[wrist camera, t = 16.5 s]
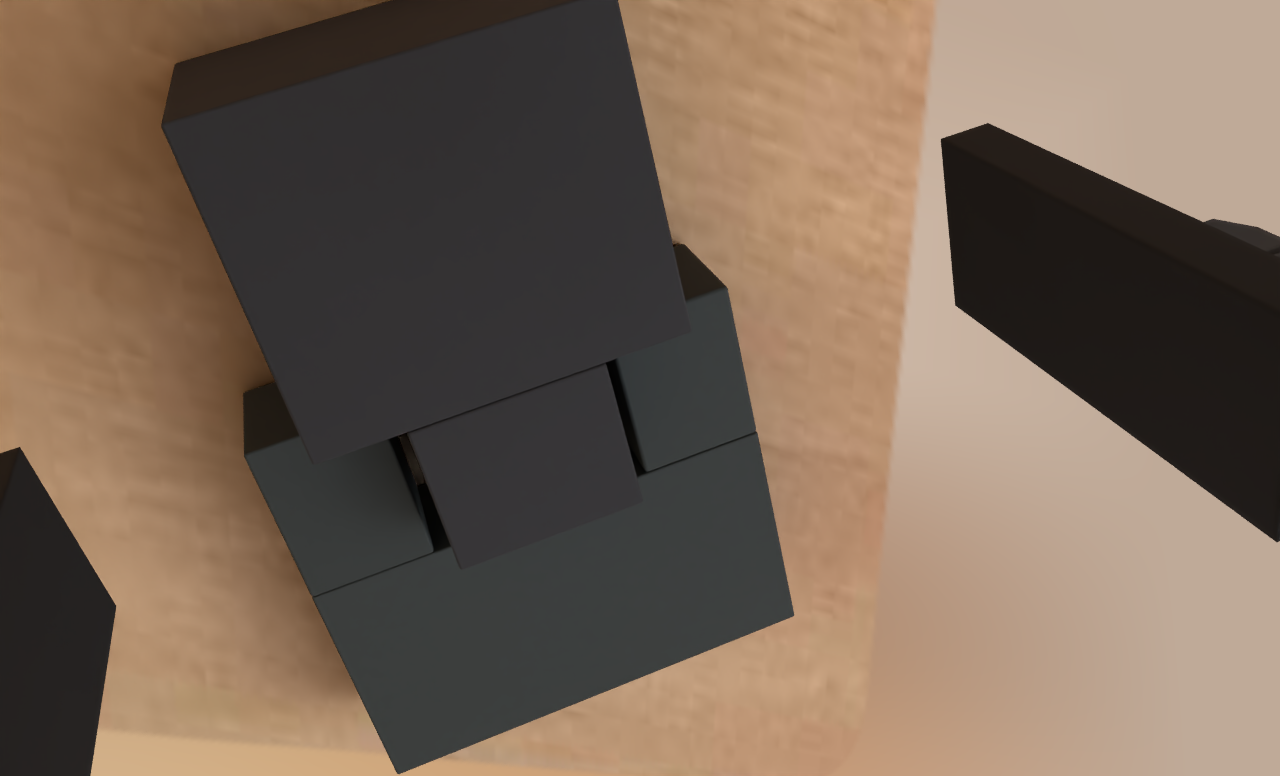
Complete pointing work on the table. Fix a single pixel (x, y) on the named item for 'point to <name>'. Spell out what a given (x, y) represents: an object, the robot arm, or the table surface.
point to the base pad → (539, 554)
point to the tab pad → (444, 244)
